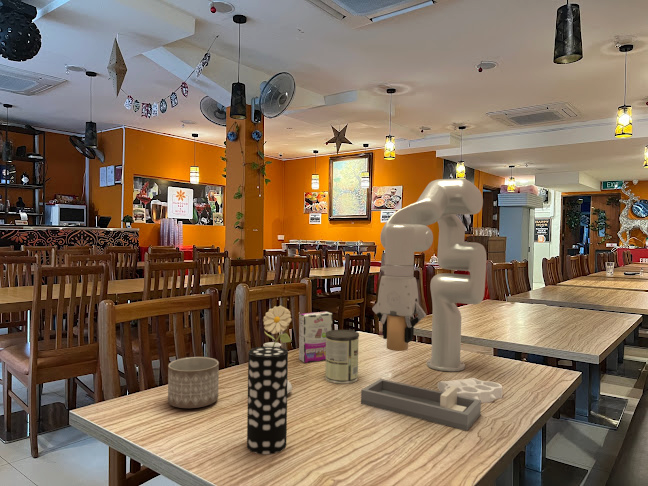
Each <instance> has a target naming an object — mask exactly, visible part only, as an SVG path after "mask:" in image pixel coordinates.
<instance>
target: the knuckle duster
mask: <svg viewBox="0 0 648 486" xmlns="http://www.w3.org/2000/svg"><path fill="white" fill-rule="evenodd" d="M436 386H437V388H438V391H440V392H445V391H446V390H447V389H448V388H450V387H451V386H455V387H457V395H459V396H464V397H468V398H473V399H477V400H481V404H482V403H492V402H494V401H495V400H498V399H503V387H504V386H503V385H502V384H500V383H499V382H496V381H495V382H494V381H491V380H490V381H489V380H488V381H487V380H481V379H477V378H475V377H469V378H463V379H458V378H457V379H454V380H452V379H451V380H445V381H444V380H441V381H438V382H437V385H436Z"/></svg>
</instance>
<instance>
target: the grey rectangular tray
mask: <svg viewBox="0 0 648 486" xmlns="http://www.w3.org/2000/svg"><path fill="white" fill-rule="evenodd" d="M443 393H444V392H441V391H440V390H435V389H430V388H426V387H421V386H416V385H411V384H409V383H408V384H407V383H402V382H397V381H393V380H388V379H384V378H379V379H378V380H376V381H374V382H372V383H371V384H369V385H367V386H366V387H364V388H361V391H360V405H361V404H362V405H365V406H368V407H373V408H377V409H380V410H384V411H388V412H392V413H396V414H399V415H404V416H408V417H412V418H416V419H419V420H424V421H427V422H432V423H435V424H440V425H444V426H447V427H450V428H455V429H459V430H463V431H469V429H470V428H471V427H472V425H474V423H475V422H476V421H477V420H478V418H479V417H480V416H481V409H482V408H481V407H482V403H481V400H477V399H473V398H468V397H464V396H459V395H457V405H459V406H464V407H467V409H466V411H465V412H461V411H457V410H453V409H449V408H444V407H440V395H441V394H443Z"/></svg>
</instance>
